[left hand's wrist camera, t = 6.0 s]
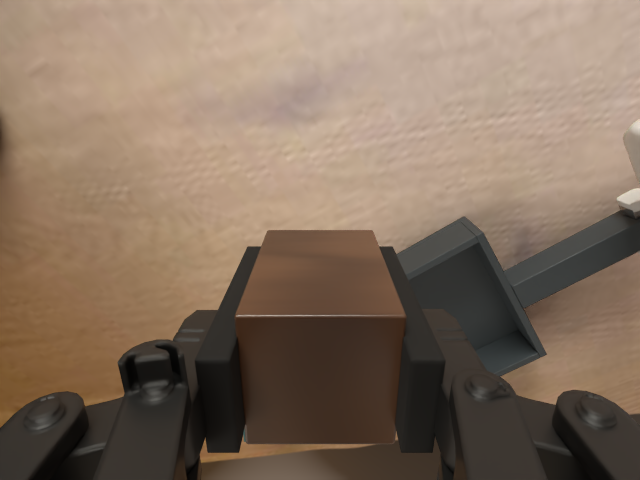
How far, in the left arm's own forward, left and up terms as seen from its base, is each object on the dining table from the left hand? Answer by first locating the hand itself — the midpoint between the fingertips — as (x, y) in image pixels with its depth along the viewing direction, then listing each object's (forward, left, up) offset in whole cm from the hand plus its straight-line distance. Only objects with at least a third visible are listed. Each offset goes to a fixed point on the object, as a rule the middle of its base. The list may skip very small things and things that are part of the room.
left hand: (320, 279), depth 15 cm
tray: (+16, -9, -18) cm, 25 cm away
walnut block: (0, 0, 0) cm, 0 cm away
